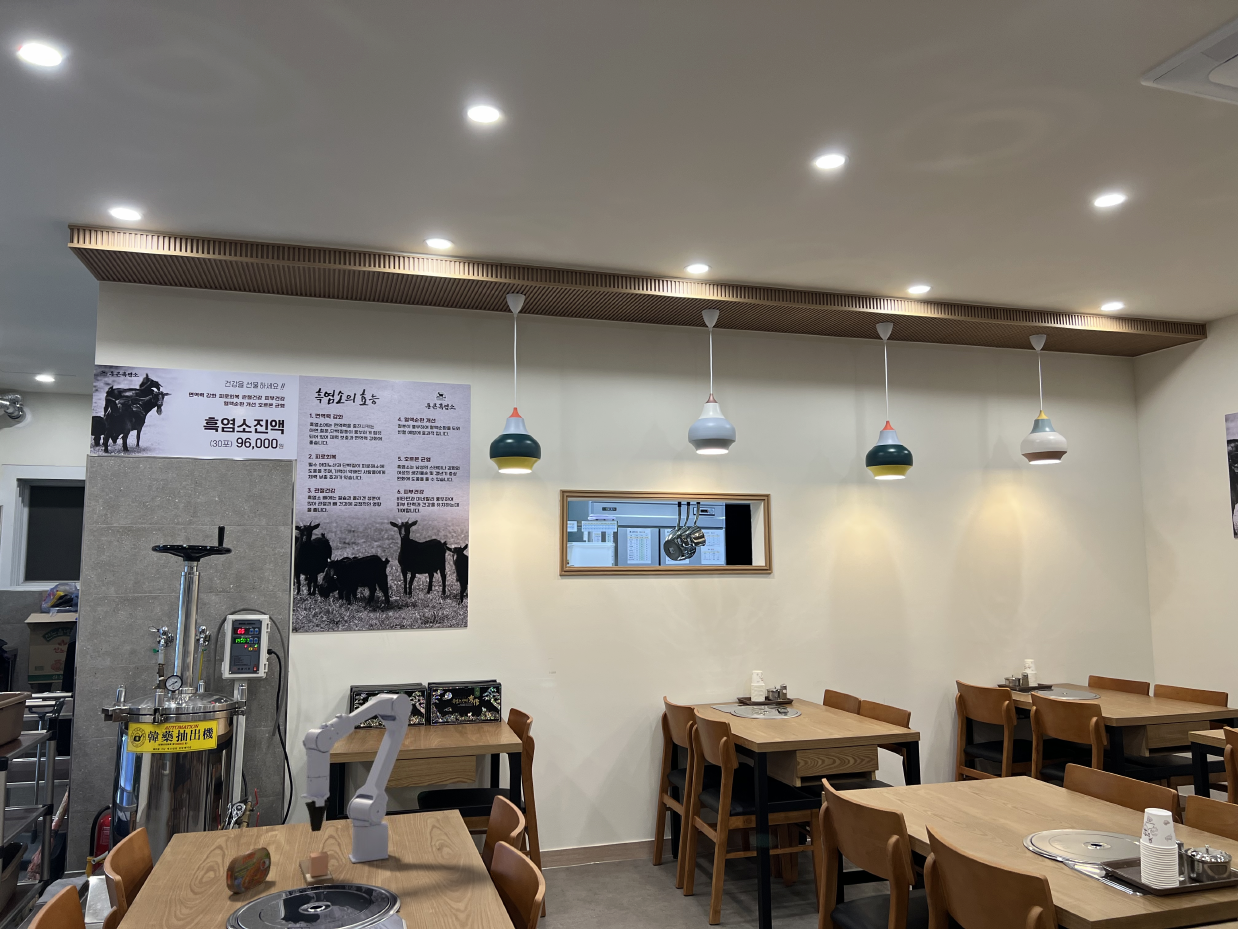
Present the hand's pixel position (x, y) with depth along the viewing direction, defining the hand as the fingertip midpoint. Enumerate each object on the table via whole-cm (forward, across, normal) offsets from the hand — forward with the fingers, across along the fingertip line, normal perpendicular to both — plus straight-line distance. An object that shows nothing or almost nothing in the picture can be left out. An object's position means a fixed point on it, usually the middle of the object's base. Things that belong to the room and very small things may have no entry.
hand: (316, 830), depth 223 cm
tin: (+11, +4, -16) cm, 20 cm away
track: (+10, +2, 0) cm, 11 cm away
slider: (+9, +8, 0) cm, 12 cm away
